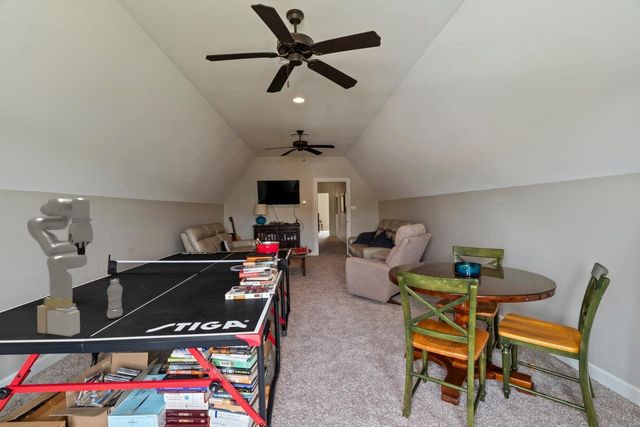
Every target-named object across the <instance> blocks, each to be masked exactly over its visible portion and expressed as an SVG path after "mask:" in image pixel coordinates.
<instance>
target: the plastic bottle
mask: <svg viewBox="0 0 640 427" xmlns="http://www.w3.org/2000/svg"><path fill="white" fill-rule="evenodd" d="M109 283H110V285H109V286H108V287H107V290H106V293H107V298H108V299H107V300H108V304H107V312H106V316H107V318H108V319H111V320H112V319H117V318H120V317H122V316H123V313H124V311H123V305H122V295H123V286H122V285H121V284H120V278H116V277H115V278H110V280H109Z"/></svg>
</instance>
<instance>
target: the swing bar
mask: <svg viewBox="0 0 640 427" xmlns="http://www.w3.org/2000/svg"><path fill="white" fill-rule="evenodd" d="M72 303H73V298H72V299H66V298H57V297H50V296H45V297H43V305H49V306H58V307H69V306H72Z"/></svg>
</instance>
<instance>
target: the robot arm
mask: <svg viewBox="0 0 640 427" xmlns="http://www.w3.org/2000/svg"><path fill="white" fill-rule="evenodd" d="M90 203H91V202H90V199H89V198H85V197H55V198H54V197H53V198H50V199H49V200H48V201H47V202H46V203H43V204H41V206H40V207H39V210H40V213H41V214H42V215H44V216H35V217H32V218H30V219H29V220H28V221H27V223H26V224H27V226H26V227H27V231H28V232H29V235H30V236H31V237H32V238H33V239H34V240H35V241H36V242H37V243H38V245H39V246H40V247H39V248H41V250H42V252H43V253H44V255H45V256H46V257H47V260H46V266H47V270H48V276H49V277H48V278H49V297H57V298H66V299H72V300H73V276H72V274H71V273H70V272H69V271H68V270H71V269H76V268H77V269H78V268H82V267H84V266H86V265H87V264H88V257H87V255H86V247H87V246H88V245H90V244H92V243H93V239H94V232H93V226H92V225H93V224H92V223H91V222H92V220H93V219H92V218H91V210H90V209H91V208H90V206H91V204H90ZM70 222H71V223H70ZM66 228H68V230H67V240H64V239H63V240H60V239H59V238H58V236H57V235H55V233H52V232H50V231H62V230H65V229H66ZM76 306H77V304H76V303H75V302H74V303H73V302H72V306H69V307H58V308H59V309H67V308H70V307H76Z"/></svg>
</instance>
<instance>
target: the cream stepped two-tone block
mask: <svg viewBox="0 0 640 427" xmlns="http://www.w3.org/2000/svg"><path fill="white" fill-rule="evenodd" d="M36 310H37V311H36V312H37V313H36V315H37V316H36V317H37V318H36V319H37V320H36V321H37V333H38V334H45V335H46V334H50V335H56V336H57V335H58V336H64V337H72V336H74V335H78V334H80V333H81V318H80V316H81V313H80V310H79V309H78V307H76V306H75V307H70V308H67V309H59V308H58V306H49V305H44V304H41V305H37V308H36Z"/></svg>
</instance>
